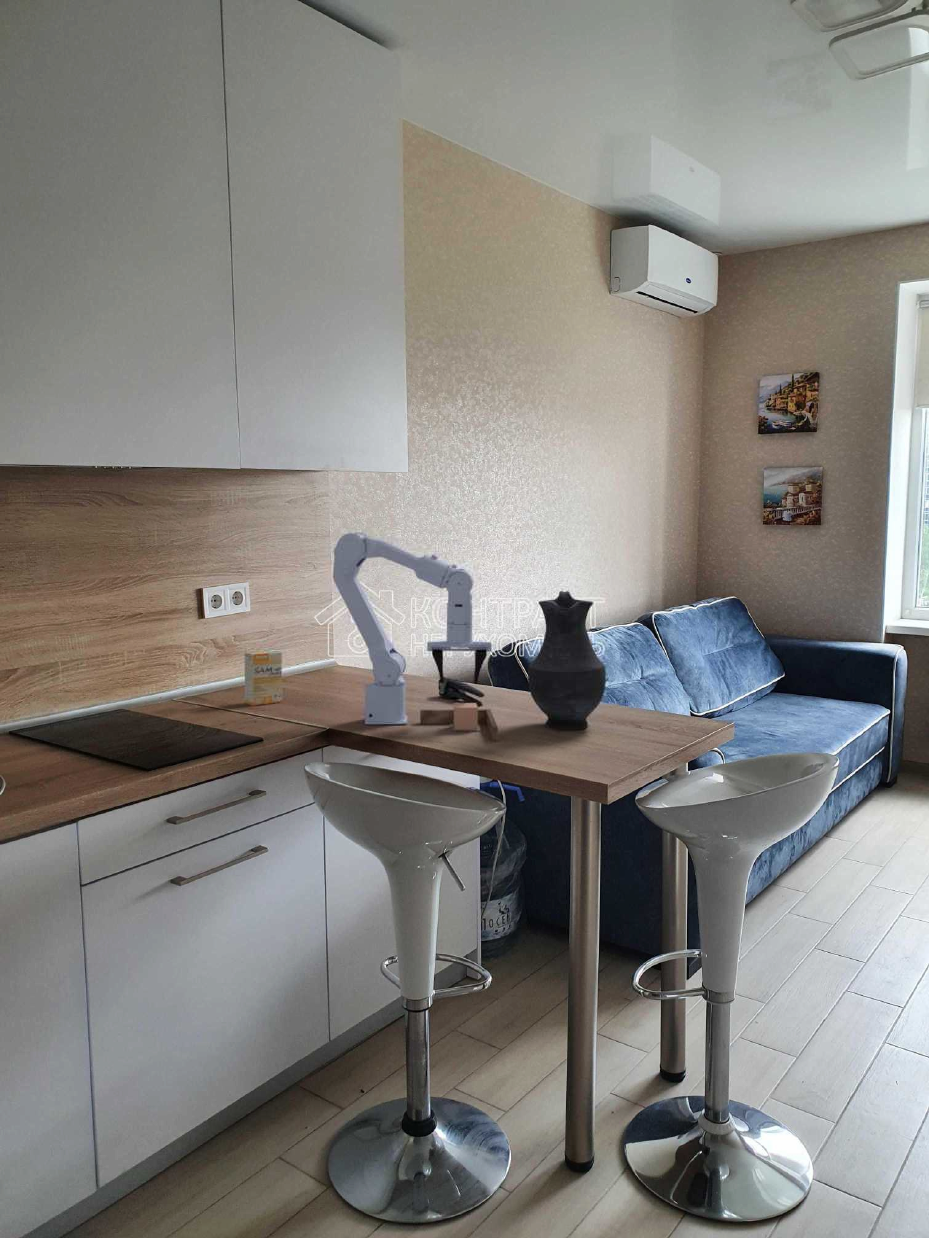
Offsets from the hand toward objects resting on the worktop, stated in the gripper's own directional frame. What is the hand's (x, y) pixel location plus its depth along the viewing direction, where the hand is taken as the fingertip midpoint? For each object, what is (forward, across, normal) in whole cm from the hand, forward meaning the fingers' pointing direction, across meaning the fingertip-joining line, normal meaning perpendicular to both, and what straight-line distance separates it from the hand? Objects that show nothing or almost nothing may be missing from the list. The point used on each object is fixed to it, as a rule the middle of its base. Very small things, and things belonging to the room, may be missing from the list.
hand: (458, 682), depth 210 cm
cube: (+9, +1, -5) cm, 11 cm away
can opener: (+10, +2, +26) cm, 28 cm away
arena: (+9, 0, -9) cm, 13 cm away
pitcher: (+9, +24, -1) cm, 26 cm away
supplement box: (+10, -48, +23) cm, 54 cm away
